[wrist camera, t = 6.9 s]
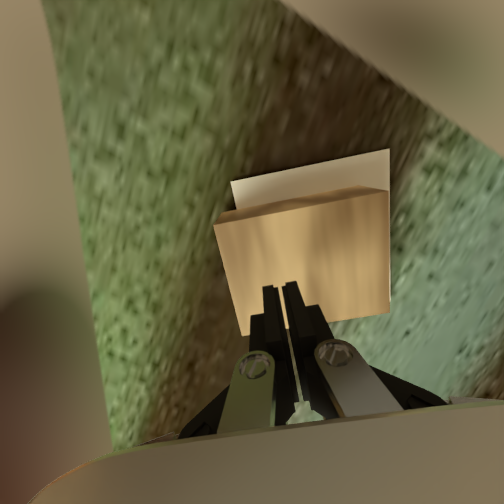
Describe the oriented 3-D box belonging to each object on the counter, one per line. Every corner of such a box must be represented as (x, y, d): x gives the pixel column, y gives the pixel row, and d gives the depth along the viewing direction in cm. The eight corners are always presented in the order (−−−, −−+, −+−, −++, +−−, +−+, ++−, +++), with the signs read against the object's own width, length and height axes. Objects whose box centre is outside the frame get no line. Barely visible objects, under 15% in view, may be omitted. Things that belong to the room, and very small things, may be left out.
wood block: (221, 212, 18) (359, 185, 17) (244, 304, 20) (363, 284, 20) (213, 225, 14) (388, 190, 13) (242, 335, 17) (389, 312, 16)
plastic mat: (386, 149, 17) (389, 148, 16) (387, 298, 21) (390, 300, 20) (231, 181, 17) (230, 181, 17) (261, 319, 21) (261, 321, 21)
